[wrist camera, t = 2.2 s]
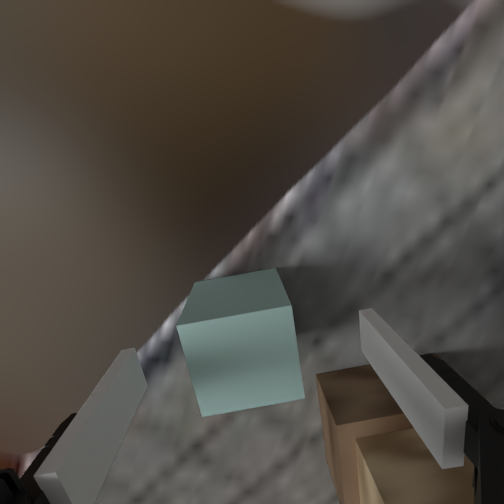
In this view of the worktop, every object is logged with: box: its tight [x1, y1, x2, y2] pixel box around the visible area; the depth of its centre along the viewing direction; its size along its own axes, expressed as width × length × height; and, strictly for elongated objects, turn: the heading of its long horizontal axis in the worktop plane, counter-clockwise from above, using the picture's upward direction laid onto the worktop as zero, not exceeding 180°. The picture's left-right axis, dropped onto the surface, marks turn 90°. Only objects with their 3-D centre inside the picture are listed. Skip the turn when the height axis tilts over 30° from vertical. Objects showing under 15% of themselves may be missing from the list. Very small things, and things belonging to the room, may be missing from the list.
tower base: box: [316, 353, 484, 504], centre depth 21 cm, size 10×10×5 cm
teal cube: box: [176, 268, 305, 417], centre depth 17 cm, size 6×6×6 cm
